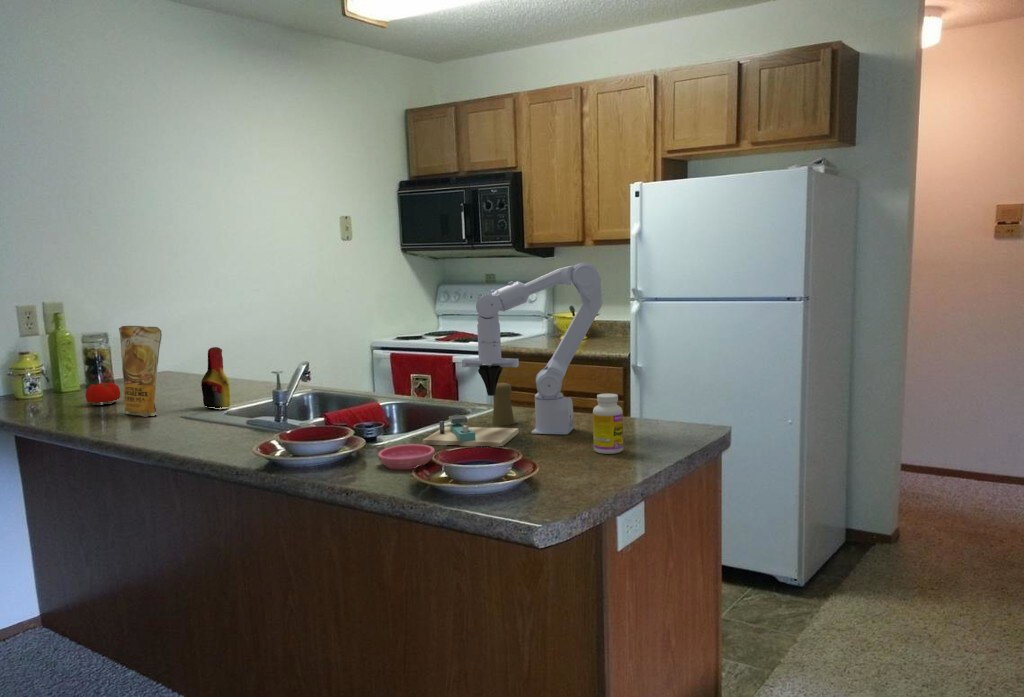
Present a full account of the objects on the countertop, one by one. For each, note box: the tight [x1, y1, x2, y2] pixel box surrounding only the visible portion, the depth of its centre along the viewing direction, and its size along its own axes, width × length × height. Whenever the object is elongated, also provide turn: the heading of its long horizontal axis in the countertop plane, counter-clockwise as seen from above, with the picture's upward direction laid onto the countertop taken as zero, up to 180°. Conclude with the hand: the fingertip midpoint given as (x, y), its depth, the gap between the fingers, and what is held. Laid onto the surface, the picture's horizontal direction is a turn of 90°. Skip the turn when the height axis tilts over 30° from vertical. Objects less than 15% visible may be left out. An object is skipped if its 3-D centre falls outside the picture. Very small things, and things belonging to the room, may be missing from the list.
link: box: [449, 423, 475, 441], centre depth 188 cm, size 13×4×2 cm, turn 17°
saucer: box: [377, 443, 436, 471], centre depth 168 cm, size 12×12×3 cm
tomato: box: [85, 381, 121, 403], centre depth 262 cm, size 11×11×8 cm
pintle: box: [462, 424, 469, 433], centre depth 184 cm, size 1×1×3 cm
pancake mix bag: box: [118, 325, 162, 413], centre depth 239 cm, size 7×19×28 cm, turn 57°
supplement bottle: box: [592, 393, 624, 455], centre depth 172 cm, size 7×7×13 cm
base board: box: [422, 426, 520, 447], centre depth 190 cm, size 20×15×1 cm
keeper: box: [438, 414, 468, 434], centre depth 194 cm, size 6×7×5 cm
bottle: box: [200, 346, 231, 408], centre depth 244 cm, size 12×6×20 cm, turn 52°
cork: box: [491, 382, 515, 427], centre depth 206 cm, size 6×6×11 cm
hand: (491, 395), depth 194 cm, fingers closed
